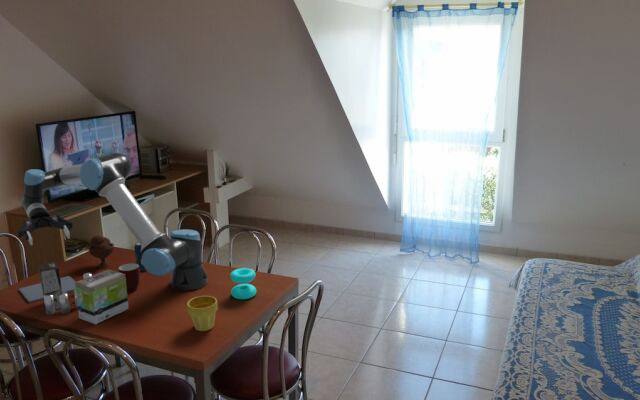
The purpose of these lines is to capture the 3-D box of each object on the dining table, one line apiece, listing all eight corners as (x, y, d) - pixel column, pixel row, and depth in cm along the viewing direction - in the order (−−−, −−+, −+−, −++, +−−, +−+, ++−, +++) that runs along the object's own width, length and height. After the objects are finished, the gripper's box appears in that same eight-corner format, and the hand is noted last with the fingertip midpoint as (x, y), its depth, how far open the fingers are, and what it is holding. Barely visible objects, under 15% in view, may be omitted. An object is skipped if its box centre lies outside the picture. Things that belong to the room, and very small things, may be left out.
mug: (124, 297, 229) (121, 274, 226) (111, 293, 233) (108, 270, 230) (145, 288, 237) (143, 265, 234) (133, 284, 241) (130, 261, 239)
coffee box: (65, 307, 222) (59, 268, 217) (46, 311, 218) (40, 271, 214) (61, 298, 229) (55, 260, 225) (44, 302, 226) (37, 264, 222)
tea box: (96, 325, 207) (91, 287, 203) (78, 319, 212) (73, 281, 208) (129, 309, 219) (125, 273, 215) (112, 303, 224) (108, 268, 220)
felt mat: (81, 288, 238) (81, 287, 237) (29, 303, 225) (29, 301, 225) (69, 277, 250) (69, 275, 249) (19, 290, 237) (18, 288, 237)
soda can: (137, 266, 261) (134, 241, 258) (153, 264, 262) (150, 239, 259) (136, 271, 254) (133, 246, 251) (152, 270, 256) (149, 244, 253)
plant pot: (186, 334, 199) (184, 308, 197) (192, 320, 209) (190, 295, 207) (216, 333, 199) (214, 308, 197) (221, 319, 209) (219, 295, 207)
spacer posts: (106, 301, 226) (104, 284, 224) (49, 317, 213) (47, 300, 211) (92, 287, 238) (90, 272, 237) (37, 303, 225) (34, 286, 224)
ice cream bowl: (111, 270, 256) (107, 238, 252) (86, 270, 257) (82, 238, 253) (120, 261, 267) (116, 230, 263) (96, 261, 267) (92, 231, 263)
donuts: (257, 275, 223) (231, 278, 221) (258, 298, 226) (232, 301, 224) (253, 265, 233) (228, 268, 230) (254, 288, 235) (230, 291, 233)
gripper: (70, 218, 249) (84, 241, 234) (5, 228, 235) (16, 253, 220) (69, 202, 246) (83, 224, 231) (4, 212, 232) (14, 236, 217)
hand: (50, 238), depth 226 cm, fingers open, 13 cm apart
